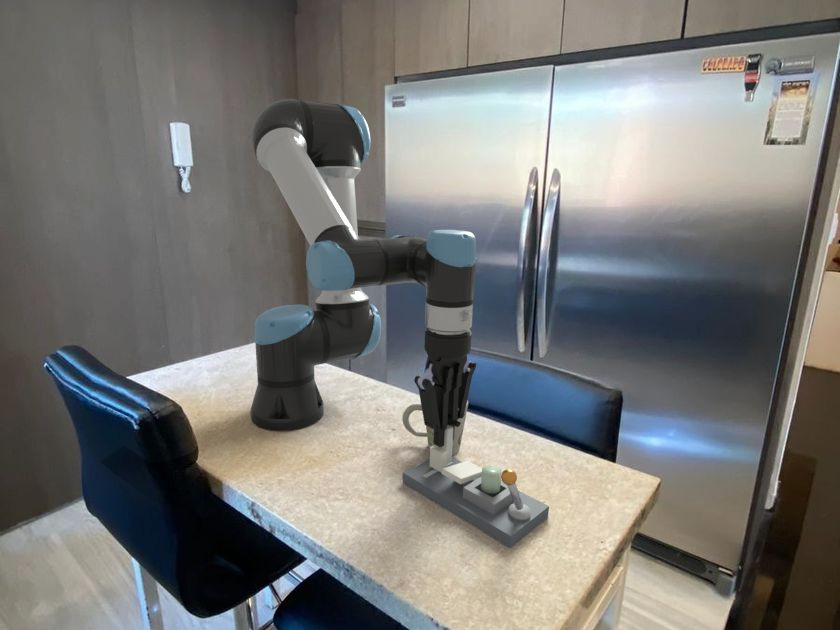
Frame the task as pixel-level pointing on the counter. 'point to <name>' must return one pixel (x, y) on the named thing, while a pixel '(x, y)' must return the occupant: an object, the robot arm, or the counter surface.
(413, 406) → the mug
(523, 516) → the panel
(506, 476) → the lever
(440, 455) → the slider
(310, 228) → the robot arm
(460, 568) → the counter surface
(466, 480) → the plate
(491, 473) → the button
